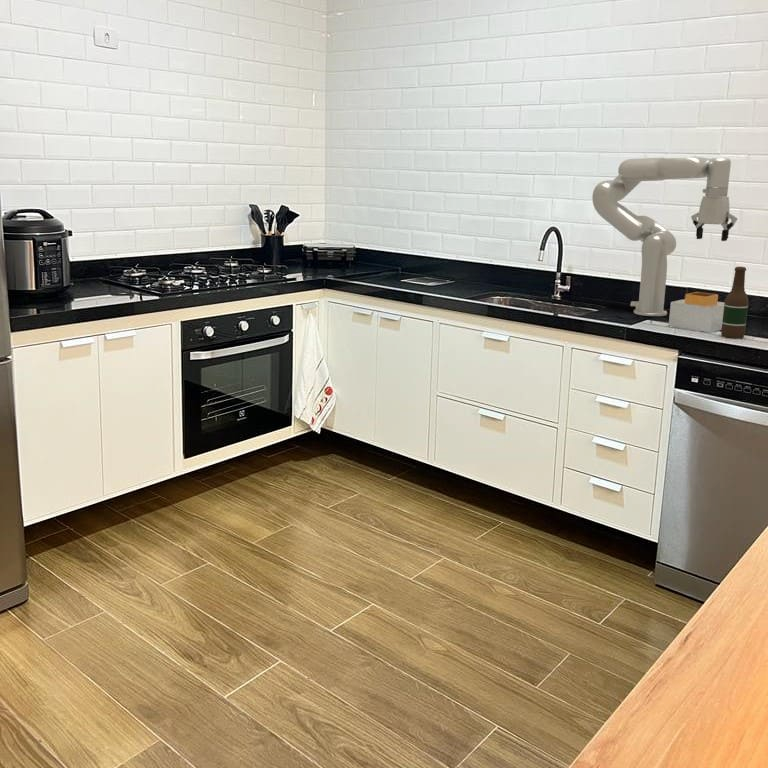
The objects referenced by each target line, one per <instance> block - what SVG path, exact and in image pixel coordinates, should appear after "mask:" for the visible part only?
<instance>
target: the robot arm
mask: <svg viewBox="0 0 768 768" xmlns="http://www.w3.org/2000/svg"><path fill="white" fill-rule="evenodd" d="M731 164H732V163H731V159H730V158H728V157H712V158H709V157H703V156H701V157H699V156H693V157H692V156H691V157H673V158H672V157H671V158H665V157H648V158H647V157H646V158H644V157H643V158H632V159H631V158H629V159H626V160H623V161H622V162H621V163H620V164H619V167H618V175H617V176H616V177H614V179H611V180H603V181H601V182H599V183H598V184H596V186H595V187H594V189H593V192H592V197H591V198H592V204H593V207H594V210H595V211H596V212H597V214H598V215H599V216H600V217H601V218H602V219H603V220H605V221H606V222H607V223H608V224H609V225H611V226H612V227H613V228H614V229H616V230H617V231H618V232H620V233H621V234H622V235H623V236H625V237H626V238H627V239H628V240H629V241H633V242H635V241H637V242H638V241H641V242H642V244H641V249H640V250H641V270H640V283H639V284H640V285H639V297H638V300H637V301H636V300H635V301H633V300H632V301H631V302H630V305H629V306H630V307H633V308H634V307H635V309H633V313H634V314H635V315H639V316H643V317H644V316H646V317H664V316H667V315H668V311H667V310H664V307H665V306H664V305H665V295H666V286H667V285H666V283H667V272H668V255H671V254H672V253H673V252H675V250H676V247H677V239H676V237H675V236H674V234H673V233H672V232H670V231H669V230H668V229H666V228H665V227H663V225H661V224H660V223H658V222H657V221H655V220H654V219H653V218H652V217H649V216H647V215H637V214H635V213H633V212H632V211H631V210H629V209H628V208H627V207H626V206H625V205H622V204H621V203H619V201H621V200H624V198H626V197H627V196H628V195H629V194H630V193H631V192H632V191H633V190H634V189H635V188H636V187H637V186H638V185H639V184H640V183H641V182H660V181H664V180H678V179H679V180H681V179H683V180H684V179H687V180H689V179H704V178H706V186H705V188H703V189H702V193H703V194H704V195H705V196H704V195H703V196H702V198H701V201H700V205H699V210H698V212H697V213H695V214H693V215H691V216H690V218H691V220H692V224H693V225H694V226H695V229H696V233H695V237H696V240H702V239H703V233H704V228H703V226H705V224H706V225H721V227H722V230H721V239H720V240H721V241H722V242H726V241H727V240H728V239H729V232H730V230H732V229H731V228H733V227H734V226H735V224H736V223H737V221H738V218H737V217H736V216H734V215H733V214H732V213H730V197H729V196H728V193H729V192H728V191H729V185H730V184H729V182H730V174H731ZM729 219H730V223H729Z"/></svg>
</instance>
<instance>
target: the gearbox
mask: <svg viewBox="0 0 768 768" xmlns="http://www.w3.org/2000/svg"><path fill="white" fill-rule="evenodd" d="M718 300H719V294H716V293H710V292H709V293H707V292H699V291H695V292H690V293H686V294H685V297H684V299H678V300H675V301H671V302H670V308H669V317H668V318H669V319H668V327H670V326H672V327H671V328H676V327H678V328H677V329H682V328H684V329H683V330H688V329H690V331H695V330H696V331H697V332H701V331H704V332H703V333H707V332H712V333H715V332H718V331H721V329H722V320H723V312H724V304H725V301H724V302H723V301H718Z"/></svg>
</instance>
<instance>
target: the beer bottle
mask: <svg viewBox="0 0 768 768" xmlns="http://www.w3.org/2000/svg"><path fill="white" fill-rule="evenodd" d="M734 271H735V272H734V277H733V280H732V281H733V282H732V286H731V290H730V292H729V293H728V294H727V295H726V297H725V300H724V303H725V304H724V312H723V320H722V329H721V330H720V334H721V337H724V338H726V339H743V338H744V337H745V333H746V326H747V319H748V310H749V298H748V295H747V292H746V290H745V282H746V281H745V280H746V279H745V278H746V271H747V268H746V267H745V266H736V267H735V268H734Z"/></svg>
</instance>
